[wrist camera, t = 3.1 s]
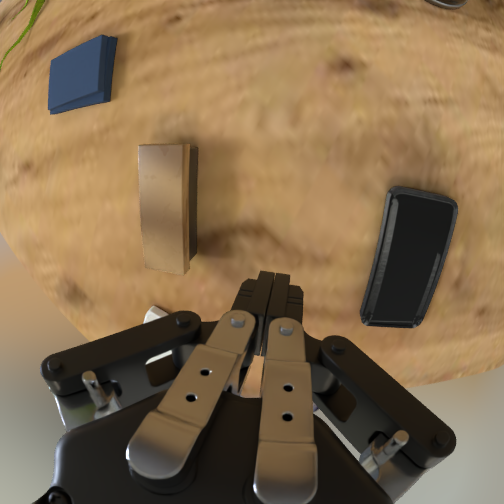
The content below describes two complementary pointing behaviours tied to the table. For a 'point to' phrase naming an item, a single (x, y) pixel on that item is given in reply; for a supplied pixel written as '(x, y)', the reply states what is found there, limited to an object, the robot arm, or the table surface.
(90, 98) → the folded cloth
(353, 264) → the table surface
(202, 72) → the table surface
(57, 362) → the robot arm
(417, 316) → the phone
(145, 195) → the tan two-tone block
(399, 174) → the table surface
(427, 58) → the table surface
